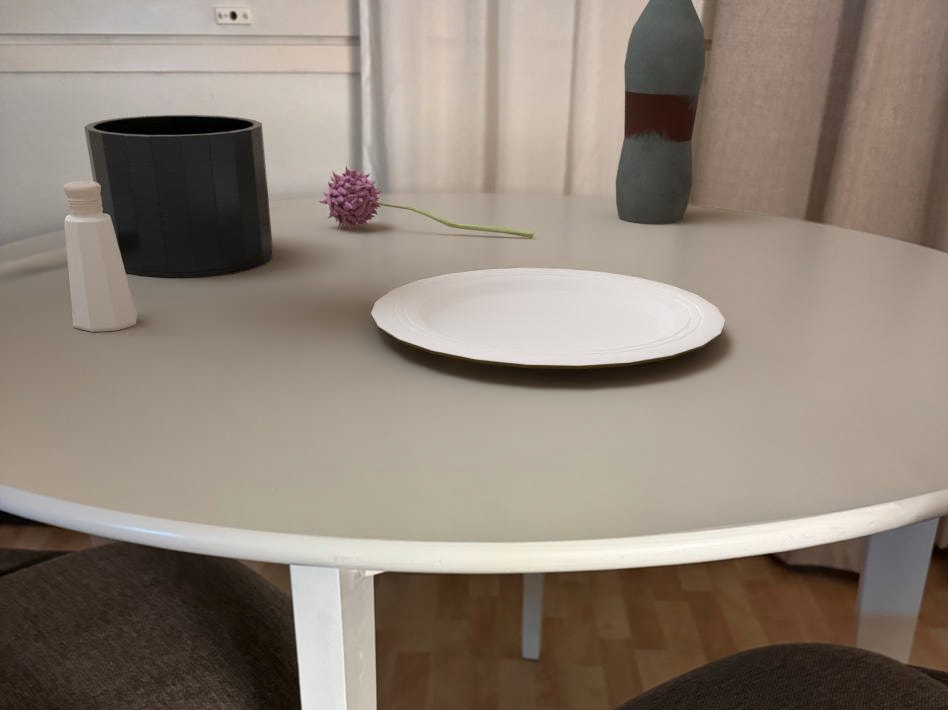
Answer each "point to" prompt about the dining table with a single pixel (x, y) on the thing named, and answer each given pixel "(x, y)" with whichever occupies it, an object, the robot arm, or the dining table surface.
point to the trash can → (184, 192)
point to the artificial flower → (358, 201)
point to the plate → (548, 318)
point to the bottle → (660, 112)
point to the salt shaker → (95, 263)
